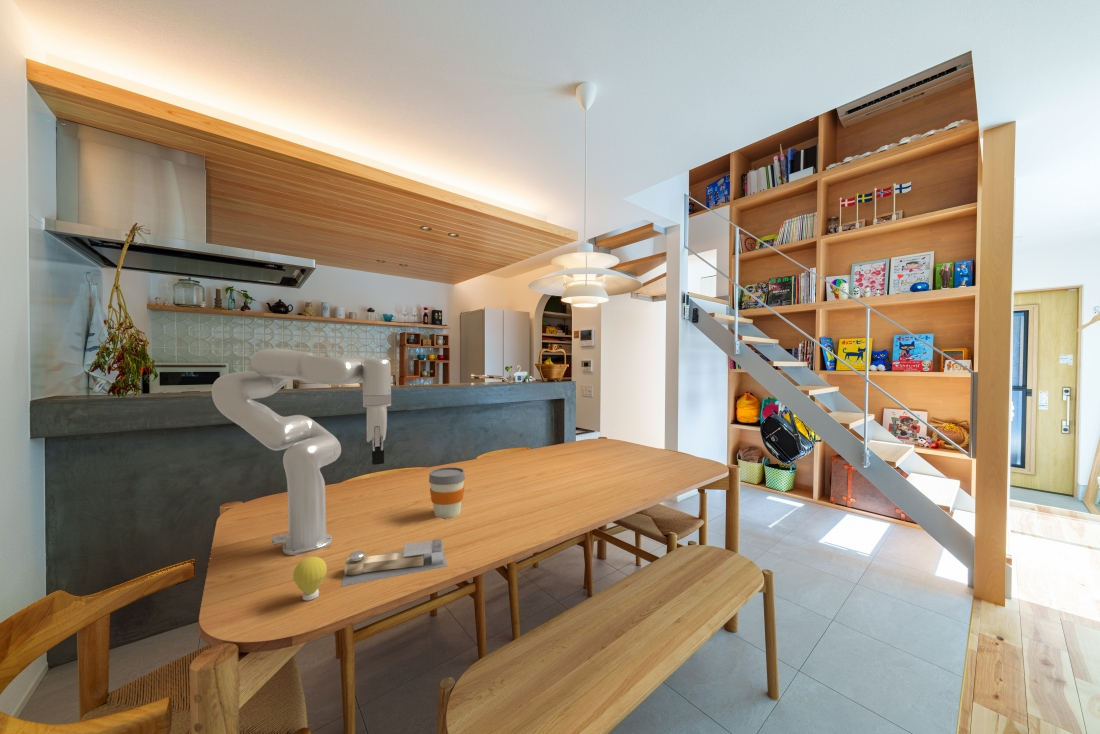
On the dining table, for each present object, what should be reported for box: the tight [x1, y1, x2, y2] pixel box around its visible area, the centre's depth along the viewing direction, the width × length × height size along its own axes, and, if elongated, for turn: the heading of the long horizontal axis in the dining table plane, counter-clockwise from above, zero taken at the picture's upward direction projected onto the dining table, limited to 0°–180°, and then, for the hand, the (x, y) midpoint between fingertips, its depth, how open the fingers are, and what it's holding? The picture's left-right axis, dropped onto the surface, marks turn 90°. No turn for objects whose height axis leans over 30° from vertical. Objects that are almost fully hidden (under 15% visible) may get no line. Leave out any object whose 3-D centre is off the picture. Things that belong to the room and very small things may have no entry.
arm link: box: [344, 552, 424, 575], centre depth 106 cm, size 19×5×2 cm, turn 103°
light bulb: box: [292, 556, 328, 601], centre depth 93 cm, size 7×7×10 cm
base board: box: [340, 550, 448, 587], centre depth 108 cm, size 25×14×1 cm, turn 111°
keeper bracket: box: [403, 538, 444, 565], centre depth 109 cm, size 10×5×4 cm, turn 106°
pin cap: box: [348, 550, 365, 562], centre depth 104 cm, size 4×4×1 cm
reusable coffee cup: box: [428, 466, 466, 519], centre depth 145 cm, size 13×13×15 cm
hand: (378, 463), depth 118 cm, fingers closed
